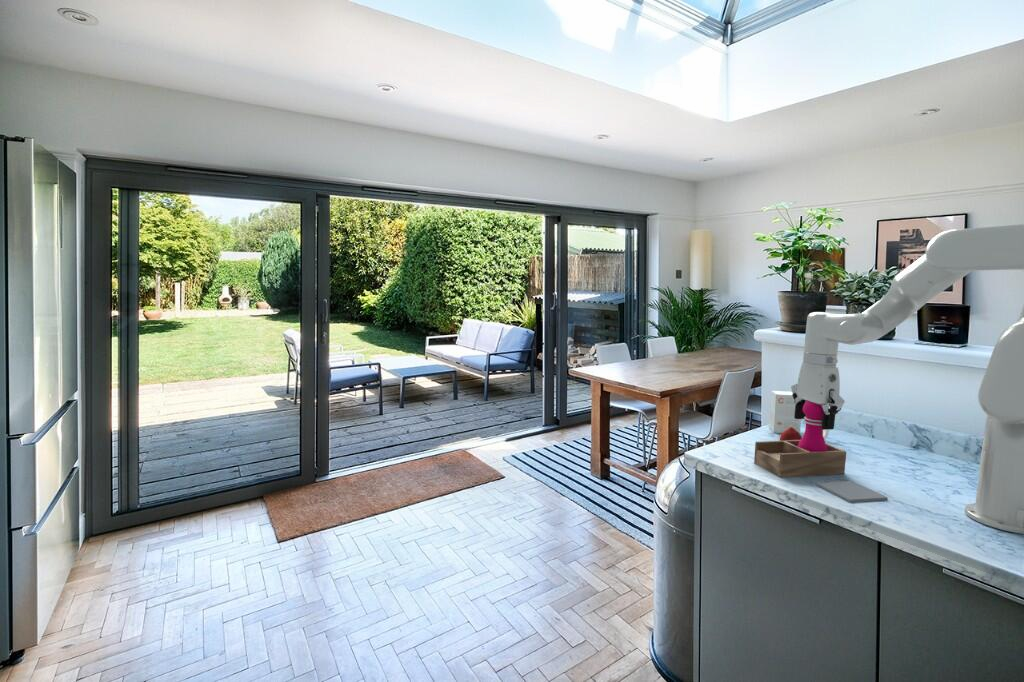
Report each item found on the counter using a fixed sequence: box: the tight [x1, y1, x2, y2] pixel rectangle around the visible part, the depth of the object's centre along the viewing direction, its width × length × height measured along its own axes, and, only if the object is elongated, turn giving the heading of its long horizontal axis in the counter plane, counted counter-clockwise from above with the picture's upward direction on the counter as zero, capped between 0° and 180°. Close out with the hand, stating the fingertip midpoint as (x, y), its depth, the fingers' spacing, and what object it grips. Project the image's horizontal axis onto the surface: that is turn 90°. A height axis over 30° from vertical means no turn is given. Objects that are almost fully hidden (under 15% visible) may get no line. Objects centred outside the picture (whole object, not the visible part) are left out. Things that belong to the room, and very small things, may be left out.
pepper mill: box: [798, 401, 830, 452], centre depth 137 cm, size 7×7×20 cm
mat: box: [815, 480, 889, 503], centre depth 122 cm, size 10×10×1 cm
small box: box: [768, 390, 802, 435], centre depth 172 cm, size 8×6×13 cm
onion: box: [779, 426, 803, 441], centre depth 150 cm, size 6×6×8 cm
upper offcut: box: [767, 453, 780, 460], centre depth 136 cm, size 7×5×2 cm
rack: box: [753, 440, 847, 478], centre depth 137 cm, size 11×18×6 cm, turn 100°
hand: (813, 423), depth 137 cm, fingers open, 9 cm apart
